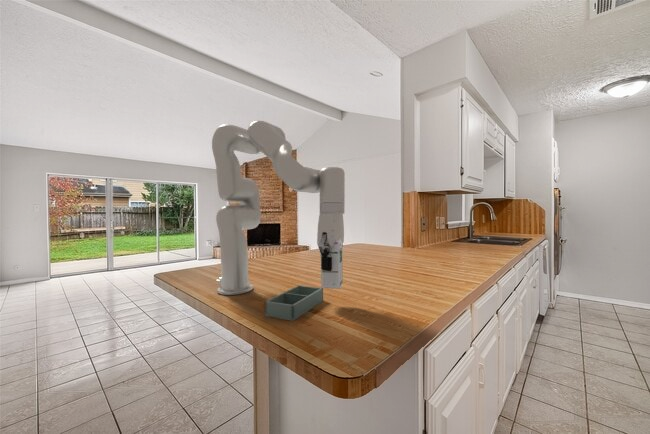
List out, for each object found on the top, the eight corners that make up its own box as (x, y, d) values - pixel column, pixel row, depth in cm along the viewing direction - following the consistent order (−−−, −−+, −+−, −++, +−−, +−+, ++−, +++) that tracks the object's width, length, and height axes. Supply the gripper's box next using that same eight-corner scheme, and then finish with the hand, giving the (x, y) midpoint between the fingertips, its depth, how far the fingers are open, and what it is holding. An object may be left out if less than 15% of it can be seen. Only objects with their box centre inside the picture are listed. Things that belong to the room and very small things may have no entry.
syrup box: (340, 289, 82) (340, 239, 81) (320, 288, 83) (320, 239, 82) (342, 283, 87) (342, 237, 87) (324, 282, 88) (324, 237, 88)
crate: (293, 320, 74) (292, 305, 74) (265, 315, 78) (265, 301, 78) (323, 300, 90) (323, 288, 90) (298, 297, 94) (298, 285, 94)
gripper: (332, 208, 94) (332, 261, 94) (306, 209, 78) (306, 272, 79) (353, 208, 90) (353, 263, 91) (331, 209, 75) (331, 275, 75)
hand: (331, 267), depth 85 cm, fingers closed on syrup box, 6 cm apart
